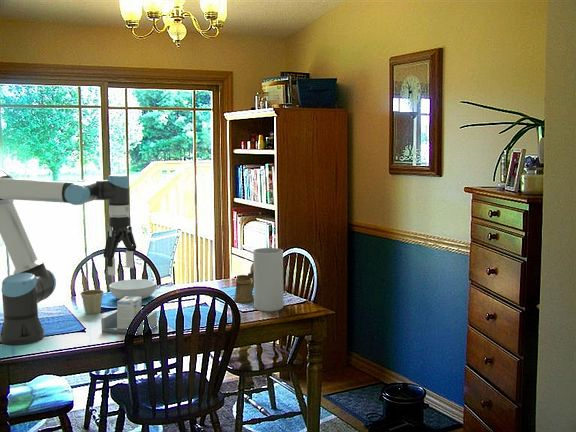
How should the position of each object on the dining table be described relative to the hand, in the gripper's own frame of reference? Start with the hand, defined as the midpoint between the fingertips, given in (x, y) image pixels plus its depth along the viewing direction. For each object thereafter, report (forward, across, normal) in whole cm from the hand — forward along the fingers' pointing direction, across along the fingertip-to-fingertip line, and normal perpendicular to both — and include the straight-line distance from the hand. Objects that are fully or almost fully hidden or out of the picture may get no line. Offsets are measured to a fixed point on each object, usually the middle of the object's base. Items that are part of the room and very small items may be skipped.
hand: (121, 271), depth 254 cm
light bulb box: (+22, 0, -3) cm, 22 cm away
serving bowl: (+23, +43, +19) cm, 52 cm away
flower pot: (+23, +18, +24) cm, 38 cm away
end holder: (+23, 0, -3) cm, 23 cm away
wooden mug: (+22, +53, -33) cm, 66 cm away
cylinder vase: (+22, +42, -46) cm, 66 cm away
